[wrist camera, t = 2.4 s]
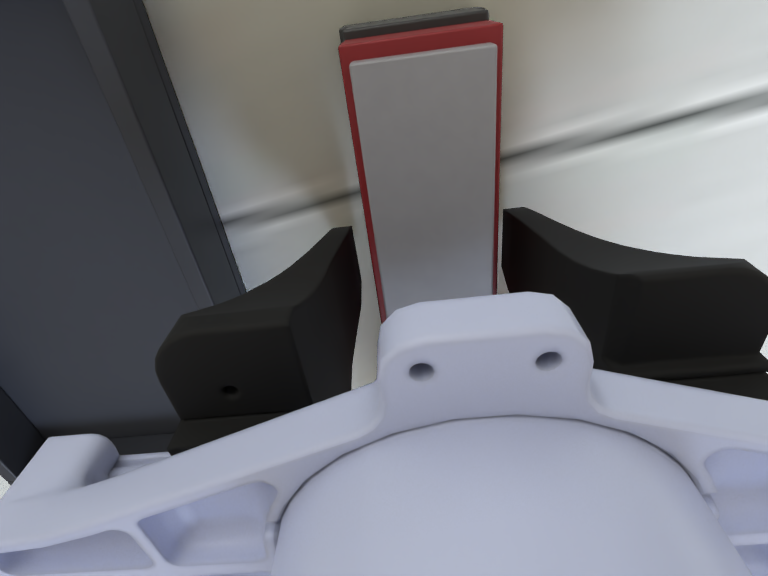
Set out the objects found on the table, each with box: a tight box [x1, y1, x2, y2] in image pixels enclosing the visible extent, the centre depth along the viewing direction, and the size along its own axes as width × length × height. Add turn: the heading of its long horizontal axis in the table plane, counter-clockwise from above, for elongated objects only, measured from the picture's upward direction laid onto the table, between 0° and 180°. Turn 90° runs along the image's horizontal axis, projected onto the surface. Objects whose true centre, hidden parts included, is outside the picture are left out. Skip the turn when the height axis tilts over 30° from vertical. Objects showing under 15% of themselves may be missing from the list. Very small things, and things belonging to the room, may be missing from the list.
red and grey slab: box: [338, 7, 503, 323], centre depth 13 cm, size 13×4×4 cm, turn 7°
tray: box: [0, 0, 246, 485], centre depth 15 cm, size 18×12×2 cm
